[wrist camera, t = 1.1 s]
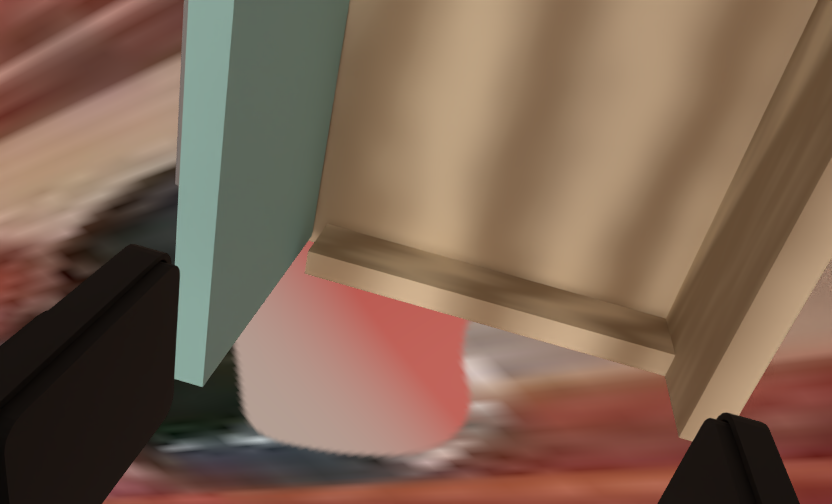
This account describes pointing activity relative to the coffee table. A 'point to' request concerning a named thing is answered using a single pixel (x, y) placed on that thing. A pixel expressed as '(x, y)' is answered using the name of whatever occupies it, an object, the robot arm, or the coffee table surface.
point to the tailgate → (247, 159)
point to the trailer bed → (589, 176)
